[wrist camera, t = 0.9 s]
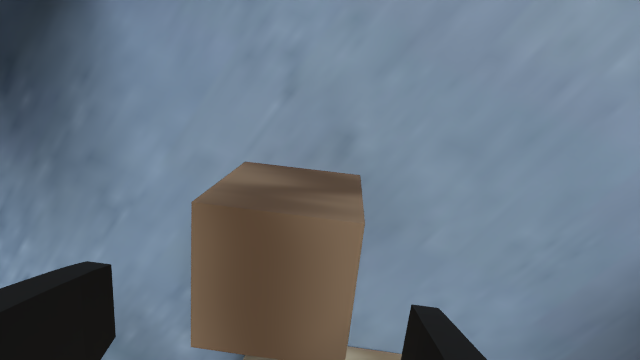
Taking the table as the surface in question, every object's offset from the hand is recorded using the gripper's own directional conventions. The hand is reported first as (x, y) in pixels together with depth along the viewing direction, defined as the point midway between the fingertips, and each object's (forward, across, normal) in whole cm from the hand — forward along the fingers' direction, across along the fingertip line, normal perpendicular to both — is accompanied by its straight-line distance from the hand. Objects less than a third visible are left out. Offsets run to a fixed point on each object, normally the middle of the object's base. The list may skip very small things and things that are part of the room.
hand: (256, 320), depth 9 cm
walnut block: (+6, 0, 0) cm, 6 cm away
